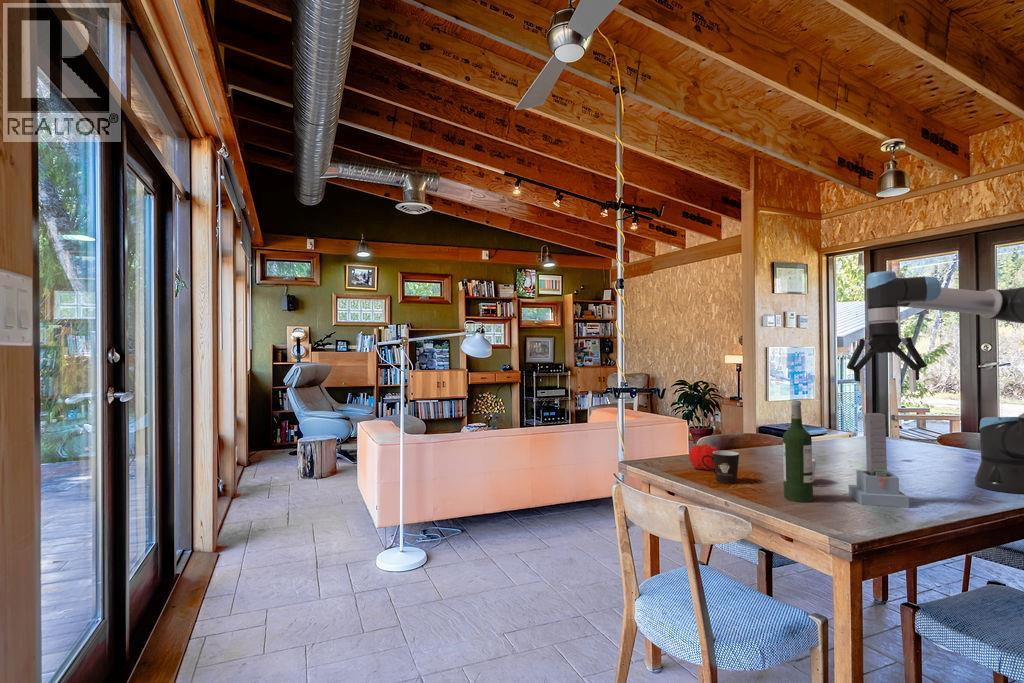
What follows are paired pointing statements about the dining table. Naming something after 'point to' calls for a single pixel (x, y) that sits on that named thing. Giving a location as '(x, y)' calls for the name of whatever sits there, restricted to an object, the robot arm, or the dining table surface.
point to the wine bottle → (797, 459)
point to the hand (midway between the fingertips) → (886, 392)
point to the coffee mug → (724, 466)
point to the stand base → (878, 490)
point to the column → (875, 443)
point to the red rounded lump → (699, 452)
